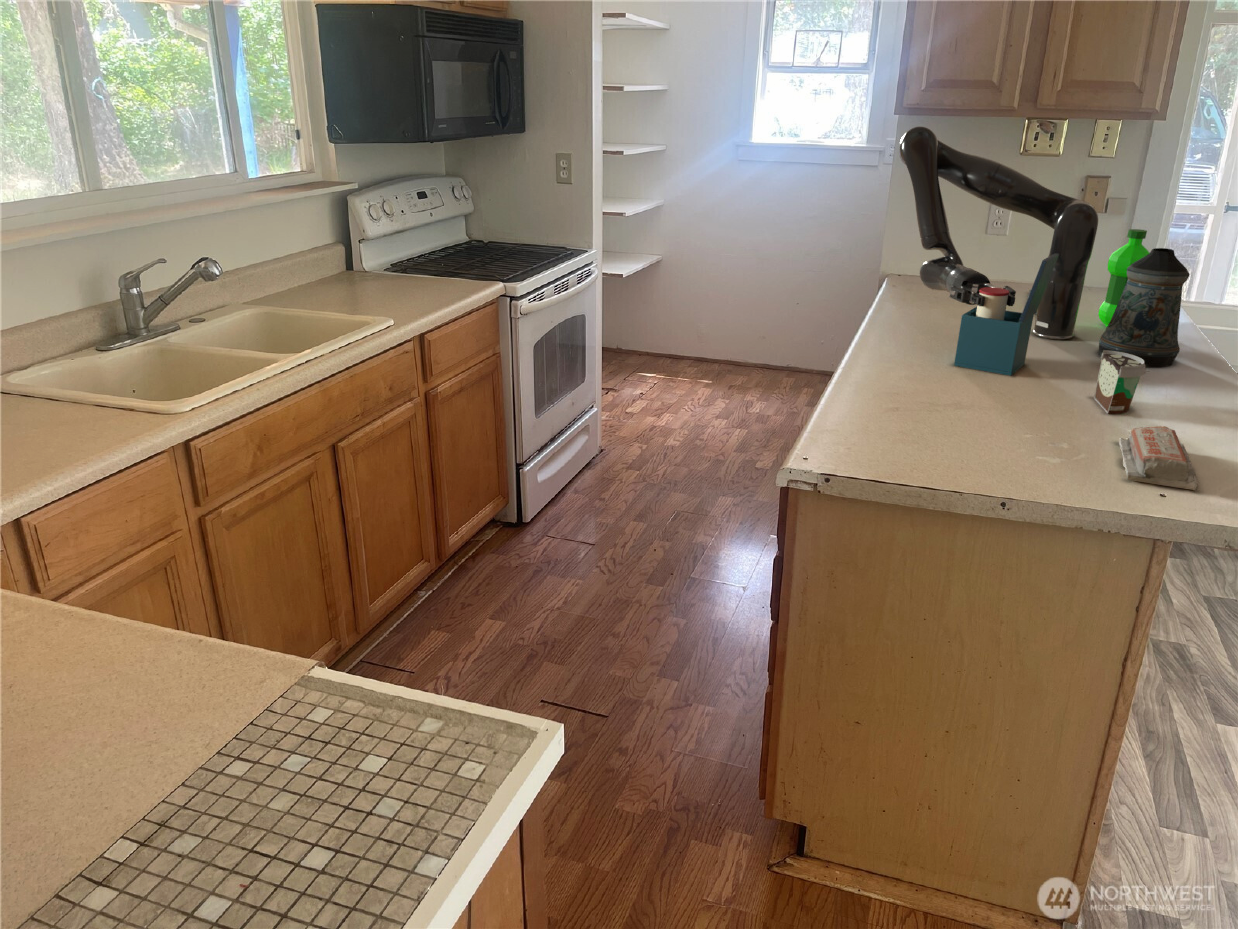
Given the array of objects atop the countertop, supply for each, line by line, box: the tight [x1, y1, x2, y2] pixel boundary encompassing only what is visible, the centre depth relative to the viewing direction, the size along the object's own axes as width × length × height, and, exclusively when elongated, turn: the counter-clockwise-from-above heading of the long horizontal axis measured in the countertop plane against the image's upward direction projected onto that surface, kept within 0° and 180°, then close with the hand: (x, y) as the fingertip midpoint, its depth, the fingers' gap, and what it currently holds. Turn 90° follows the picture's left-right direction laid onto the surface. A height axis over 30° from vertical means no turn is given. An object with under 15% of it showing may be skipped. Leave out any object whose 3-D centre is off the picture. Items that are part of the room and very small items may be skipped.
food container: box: [1093, 350, 1146, 415], centre depth 172 cm, size 12×6×10 cm, turn 168°
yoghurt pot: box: [976, 287, 1009, 320], centre depth 196 cm, size 6×6×10 cm
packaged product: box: [1118, 425, 1199, 491], centre depth 146 cm, size 18×5×10 cm
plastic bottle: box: [1098, 228, 1150, 327], centre depth 227 cm, size 10×10×25 cm
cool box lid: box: [1019, 253, 1059, 322], centre depth 188 cm, size 14×11×1 cm
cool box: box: [953, 306, 1035, 377], centre depth 198 cm, size 13×11×12 cm
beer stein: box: [1098, 247, 1190, 368], centre depth 201 cm, size 16×19×25 cm
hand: (997, 301), depth 193 cm, fingers closed on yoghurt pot, 6 cm apart
